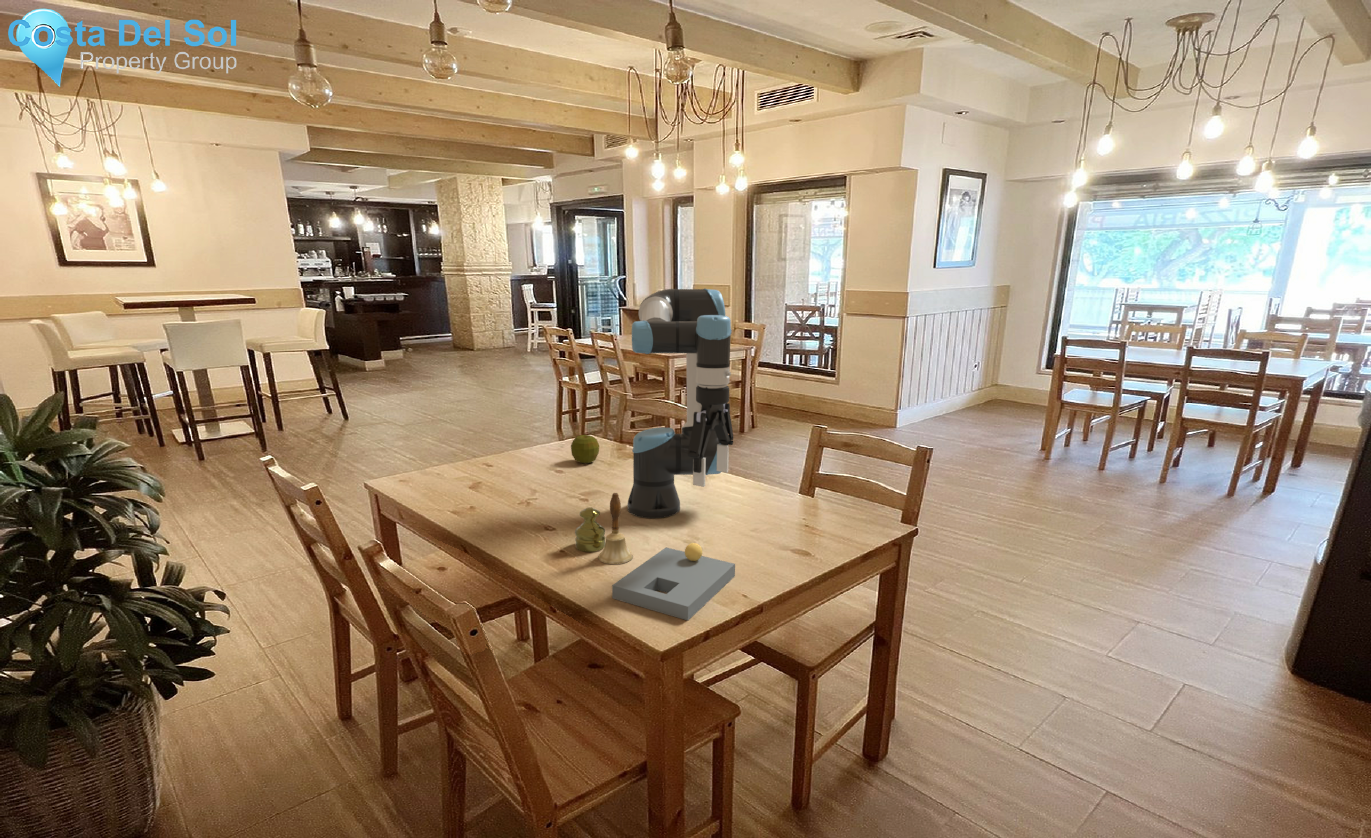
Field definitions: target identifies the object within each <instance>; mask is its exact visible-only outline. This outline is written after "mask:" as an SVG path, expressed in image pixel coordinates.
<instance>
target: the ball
mask: <svg viewBox="0 0 1371 838" xmlns="http://www.w3.org/2000/svg"><path fill="white" fill-rule="evenodd" d="M684 552H685V556H686V557H687V559H689V560H691V561H697V560H699V559H700V558H701V556H703V548H702V546H701V545H699V543H696V542H691V543H689V544H687V545H686V547H685V548H684Z"/></svg>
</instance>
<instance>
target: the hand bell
mask: <svg viewBox="0 0 1371 838" xmlns="http://www.w3.org/2000/svg"><path fill="white" fill-rule="evenodd" d="M611 494H612V495H611V498H610V502H609V512H610V516H611V533H608V534H607V535H606V536H605V547H604V548H603V549H602V551H601V552H600V553H599V554H598V560H599V561H600V562H602V563H603V564H608V565H621V564H625V563H628V562H630V561H632V559H633V558H634V553H632V551H631V550H630V549H629V547H628V545H627V542H626V536H625V535H624V533H621V532H620V531H619V529H620V525H619V524H620V523H619V521H620V515H621V510H622V506H621V505H622V504H621V500H620V496H619V493H618V492H613V493H611Z"/></svg>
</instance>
